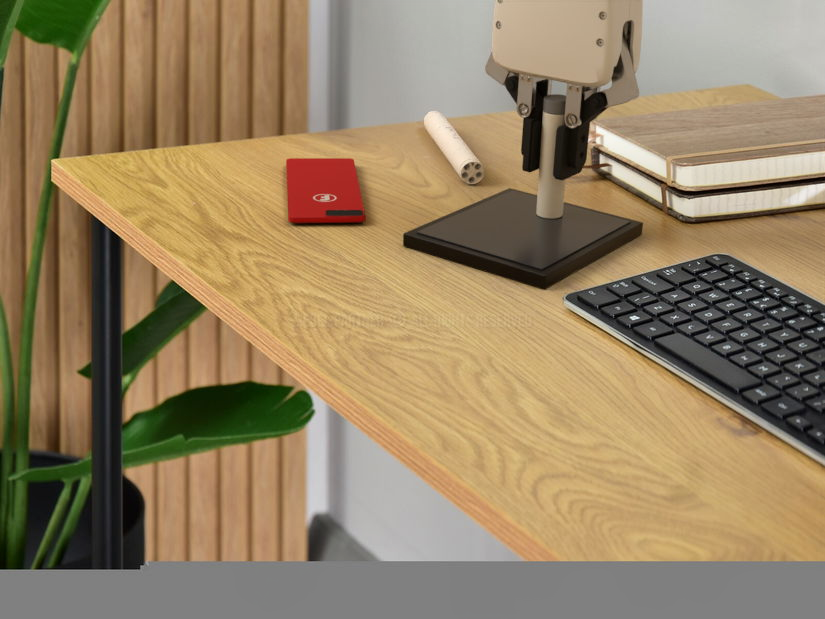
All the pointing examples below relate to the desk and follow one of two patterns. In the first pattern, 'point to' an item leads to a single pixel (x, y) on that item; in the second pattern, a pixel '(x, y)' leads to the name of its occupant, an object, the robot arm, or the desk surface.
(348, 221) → the electronic device
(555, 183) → the stylus
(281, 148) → the desk surface
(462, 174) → the cream cylinder
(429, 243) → the tablet
